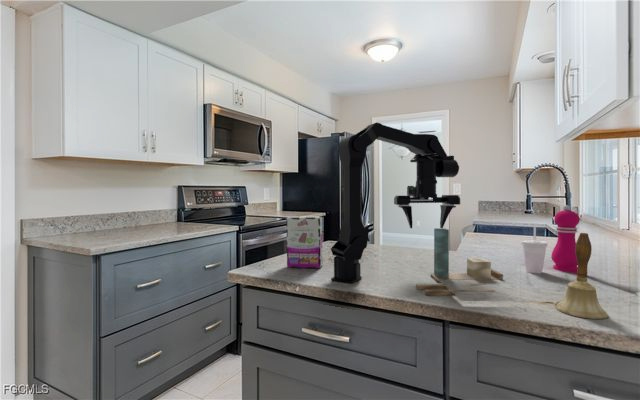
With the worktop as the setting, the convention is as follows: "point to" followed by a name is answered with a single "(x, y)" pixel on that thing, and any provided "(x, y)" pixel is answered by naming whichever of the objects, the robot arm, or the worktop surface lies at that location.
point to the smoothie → (534, 254)
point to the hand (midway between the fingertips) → (426, 228)
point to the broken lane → (445, 289)
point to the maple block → (479, 268)
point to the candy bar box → (304, 242)
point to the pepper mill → (565, 241)
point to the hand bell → (582, 287)
